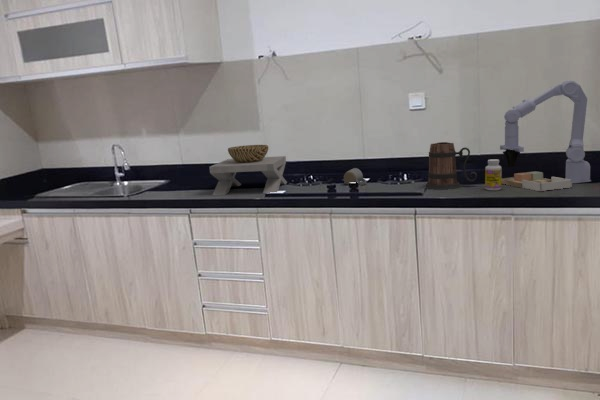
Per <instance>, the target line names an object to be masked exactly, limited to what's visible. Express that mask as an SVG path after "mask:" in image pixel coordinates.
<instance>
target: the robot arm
mask: <svg viewBox="0 0 600 400" xmlns="http://www.w3.org/2000/svg"><path fill="white" fill-rule="evenodd" d="M556 96H557V97H558V96H565V97H567V98H569V99H570V101H572V102H573V103H574V104H573V113H572V122H571V132H570V140H569V143H568V147H567V149H566V151H565V155H566V157H567V159H566V160H565V179H570V180H572V184H580V183H589V182H592V179H591V164H590V163H589V162H588V161H586V160H585V159H584V158H585V156H586V152H585V150H584V133H585V126H586V125H585V123H586V115H587V106H588V97H587V94H585V92H584V90H583V88H582V86H581V85H580V84H579V83H577V82H576V81H575V80H566V81H563V82H561V83H558V84H556V85H554V86H553V87H550V88H549V89H546V91H544V92H542V93H541V94H539V95H537V96H536V97H534V98H533V99H530V98H527V99H523V100H521V102H520V103H519V104H517V105H515V106H514V105H513V106H511V107H512V109H508V110H507V111H506V112H505V114H504V120H505V122H504V125H505V126H504V144H502V145H499V150H503V151H502V154H503V156H504V157H505V160H506V164H507V167H510V168H512V167H515V166H516V164H517V160H518V157H519V156H520V155H521V153H522V152H524V151H525V149H524V148H525V147H523V146H520V145H519V119H520V118H521V119H522V118H524V117H525V116H527V115H529V114H531V113H532V112H534V111H535V110H536V107H537V106H538V105H540V104H542V103H543V102H545V101H547V100H549V99H551V98H553V97H556Z"/></svg>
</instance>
